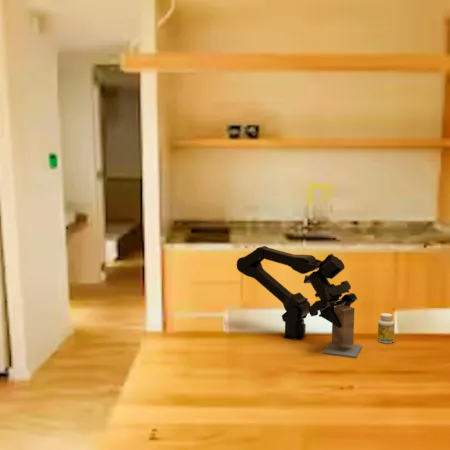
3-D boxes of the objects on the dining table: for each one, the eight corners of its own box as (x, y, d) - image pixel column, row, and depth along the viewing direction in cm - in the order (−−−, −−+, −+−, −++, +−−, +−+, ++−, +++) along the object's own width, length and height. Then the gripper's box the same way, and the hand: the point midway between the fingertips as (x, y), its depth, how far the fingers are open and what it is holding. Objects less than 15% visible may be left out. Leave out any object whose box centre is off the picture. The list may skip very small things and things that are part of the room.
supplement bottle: (396, 342, 205) (397, 315, 204) (385, 344, 202) (386, 317, 201) (386, 337, 210) (386, 311, 208) (374, 340, 207) (375, 313, 206)
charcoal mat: (322, 353, 194) (322, 351, 194) (330, 343, 204) (330, 341, 204) (356, 358, 190) (356, 356, 190) (362, 347, 200) (362, 345, 200)
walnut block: (331, 343, 197) (332, 307, 195) (341, 340, 200) (342, 304, 198) (343, 347, 193) (344, 310, 192) (353, 344, 196) (354, 308, 194)
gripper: (315, 277, 191) (340, 318, 184) (353, 269, 202) (378, 308, 195) (298, 296, 198) (321, 336, 191) (336, 287, 209) (359, 325, 202)
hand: (346, 325), depth 195 cm, fingers closed on walnut block, 5 cm apart
